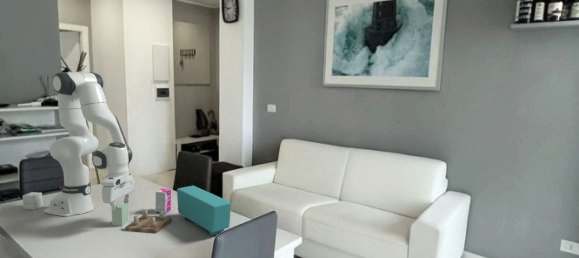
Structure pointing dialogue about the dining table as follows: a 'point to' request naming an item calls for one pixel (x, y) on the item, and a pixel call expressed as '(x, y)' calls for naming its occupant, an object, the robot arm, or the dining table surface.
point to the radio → (204, 209)
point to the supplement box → (163, 200)
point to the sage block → (120, 215)
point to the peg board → (148, 222)
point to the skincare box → (32, 200)
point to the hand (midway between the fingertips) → (120, 206)
